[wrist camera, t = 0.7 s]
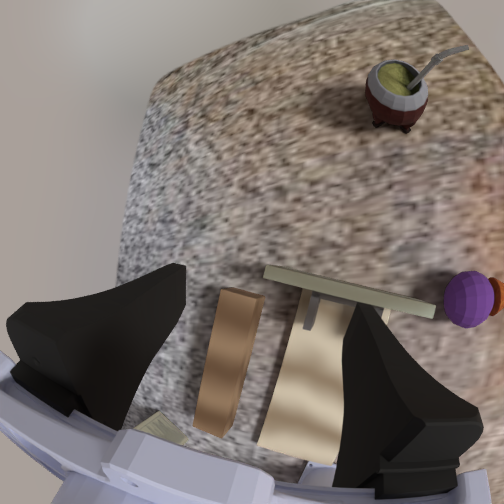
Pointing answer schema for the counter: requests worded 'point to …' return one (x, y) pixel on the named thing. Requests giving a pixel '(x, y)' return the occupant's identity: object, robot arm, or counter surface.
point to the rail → (227, 359)
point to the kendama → (472, 298)
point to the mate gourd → (400, 90)
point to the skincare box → (162, 428)
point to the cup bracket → (319, 363)
